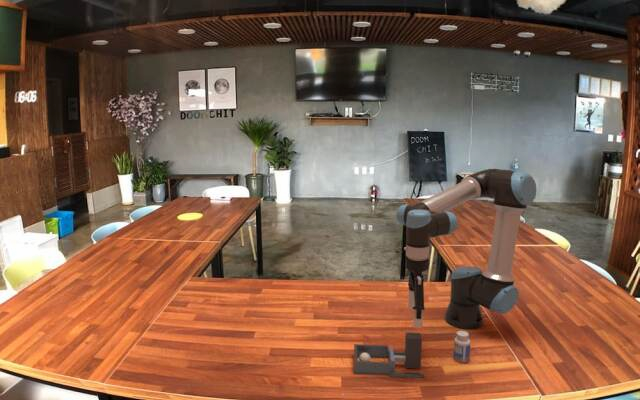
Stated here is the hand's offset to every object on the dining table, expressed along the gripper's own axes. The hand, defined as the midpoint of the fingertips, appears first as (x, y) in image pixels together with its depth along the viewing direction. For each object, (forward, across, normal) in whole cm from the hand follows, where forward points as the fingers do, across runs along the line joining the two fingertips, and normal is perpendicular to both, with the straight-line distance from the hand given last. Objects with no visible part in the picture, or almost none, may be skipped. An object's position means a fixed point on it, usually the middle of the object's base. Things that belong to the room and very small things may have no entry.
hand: (414, 317), depth 149 cm
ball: (+16, 0, -17) cm, 23 cm away
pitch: (+18, 0, -9) cm, 20 cm away
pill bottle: (+18, -6, +18) cm, 26 cm away
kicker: (+18, 0, -3) cm, 18 cm away
